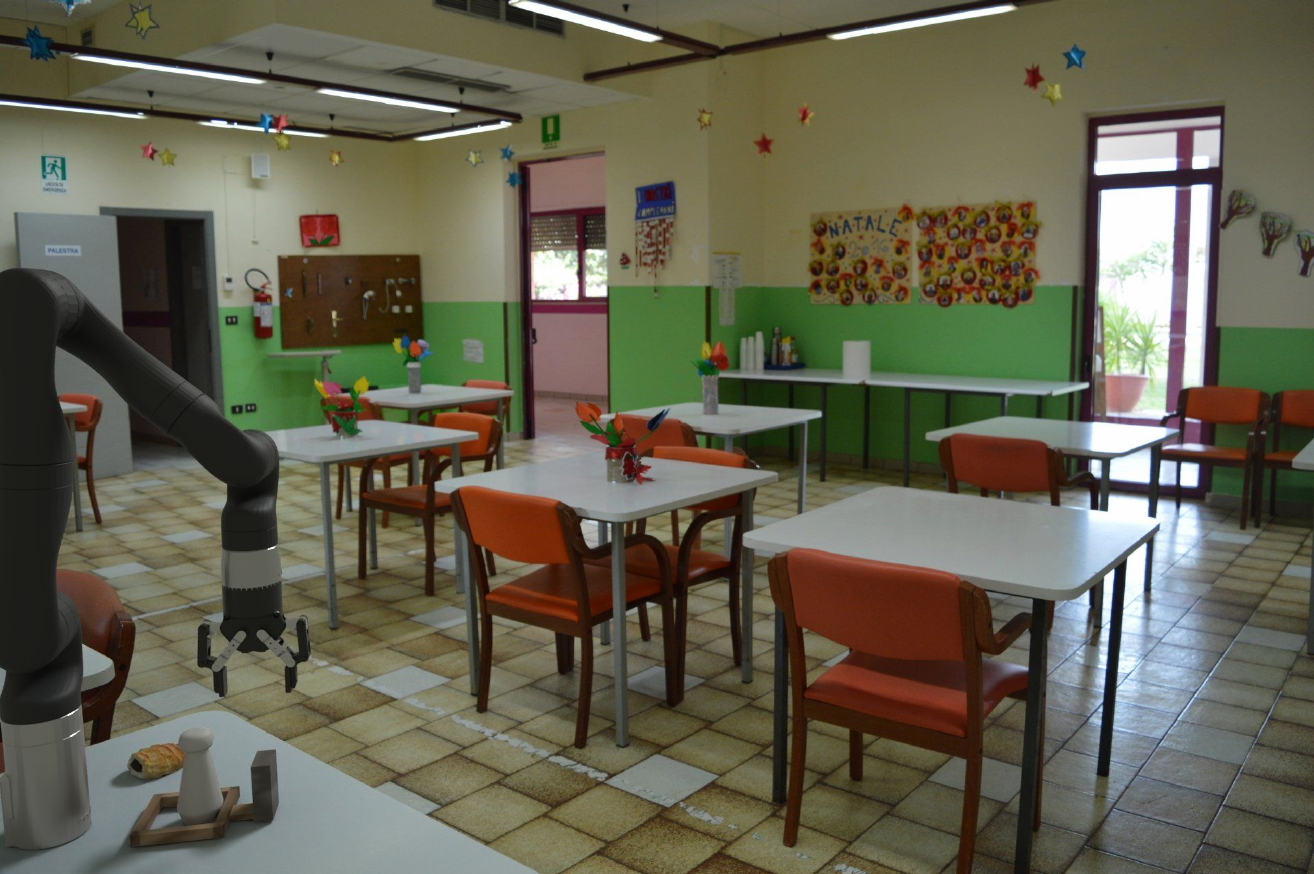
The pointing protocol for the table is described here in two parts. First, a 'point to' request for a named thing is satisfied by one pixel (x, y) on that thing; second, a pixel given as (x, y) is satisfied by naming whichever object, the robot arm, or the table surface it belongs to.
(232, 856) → the table surface
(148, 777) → the pastry
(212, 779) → the salt shaker
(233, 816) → the frame
